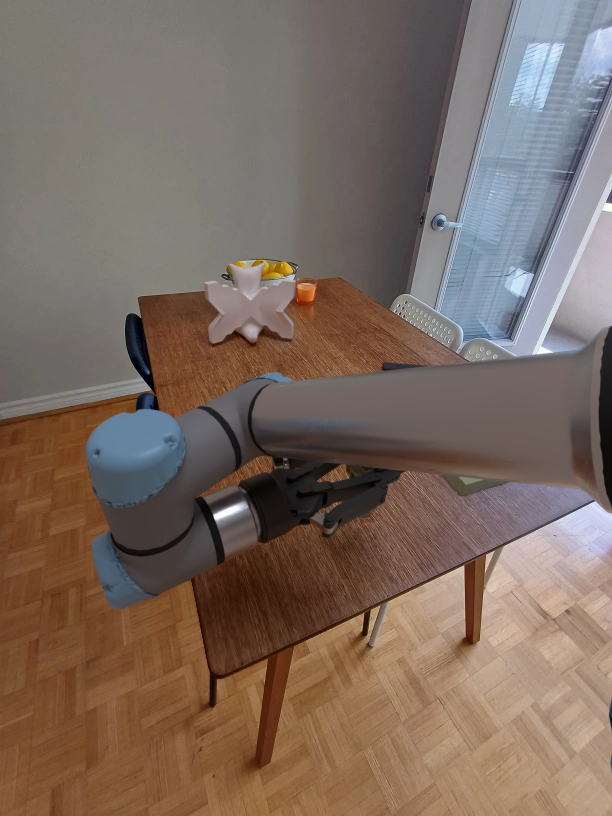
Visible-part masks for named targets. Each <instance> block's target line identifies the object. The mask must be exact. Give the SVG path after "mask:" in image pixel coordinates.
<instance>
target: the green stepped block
mask: <svg viewBox="0 0 612 816" xmlns="http://www.w3.org/2000/svg"><path fill="white" fill-rule="evenodd" d="M442 477H443V478H445V480H446V481H447V482H448V483H449V484H450V486H452V487H453V489H454V490H455V491H456V492H457V493H458V494H459V495H460V496H461V497H463V496H466V495H470V494H473V493H476V492H479V491H482V490H486V489H489V488H493V487H496V486H500V485H503V484H506V483H507V482H504V481H495V480H485V479H476V478H466V477H457V476H448V475H442Z"/></svg>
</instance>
